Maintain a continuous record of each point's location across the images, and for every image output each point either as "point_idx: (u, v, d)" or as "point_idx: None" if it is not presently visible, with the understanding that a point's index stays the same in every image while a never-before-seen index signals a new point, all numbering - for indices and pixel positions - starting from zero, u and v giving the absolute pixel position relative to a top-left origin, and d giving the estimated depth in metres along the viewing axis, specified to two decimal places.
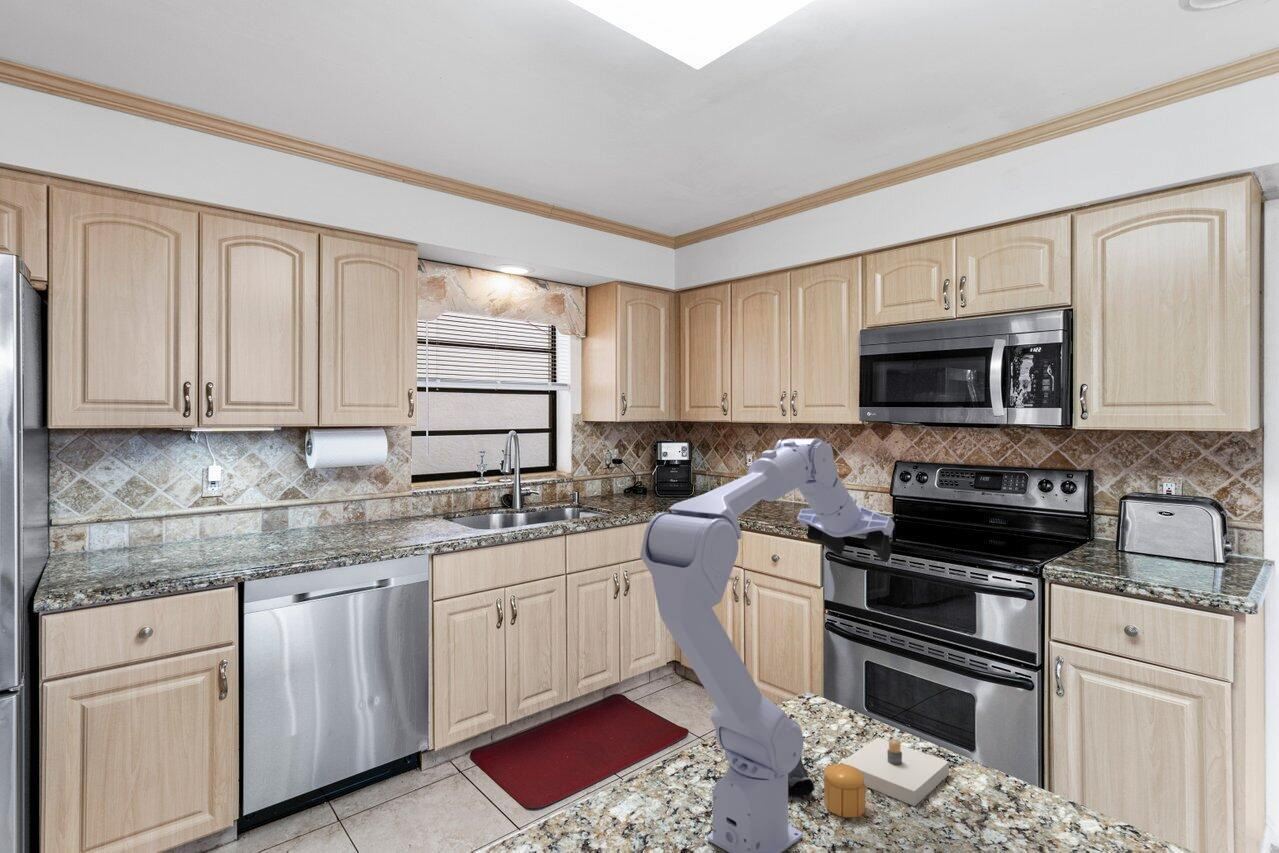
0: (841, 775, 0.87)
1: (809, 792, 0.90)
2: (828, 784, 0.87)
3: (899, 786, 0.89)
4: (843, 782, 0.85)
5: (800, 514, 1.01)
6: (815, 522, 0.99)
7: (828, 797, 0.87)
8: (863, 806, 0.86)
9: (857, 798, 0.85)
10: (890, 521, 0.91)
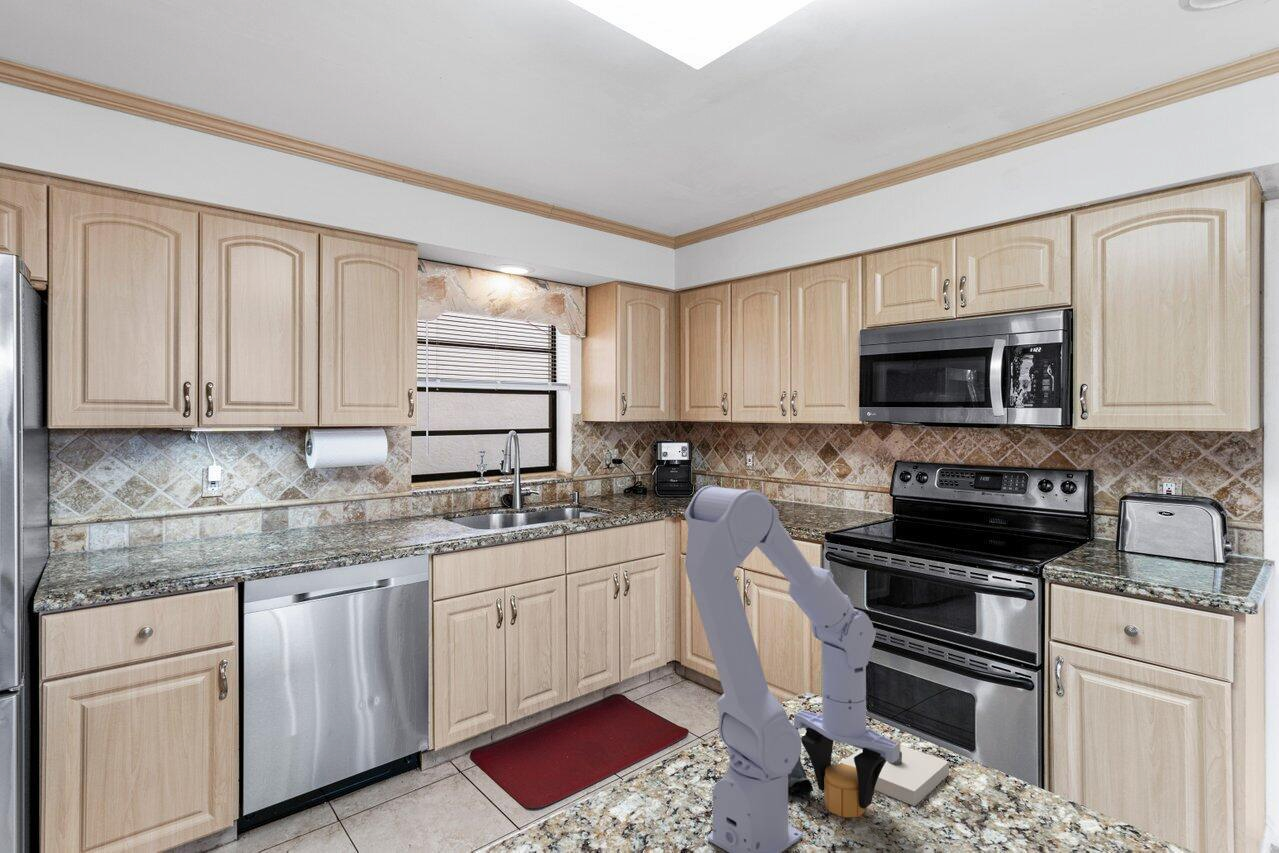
0: (841, 775, 0.87)
1: (807, 792, 0.90)
2: (828, 784, 0.87)
3: (899, 786, 0.89)
4: (843, 782, 0.85)
5: (799, 712, 0.93)
6: None
7: (828, 797, 0.87)
8: None
9: (857, 798, 0.85)
10: (897, 748, 0.83)
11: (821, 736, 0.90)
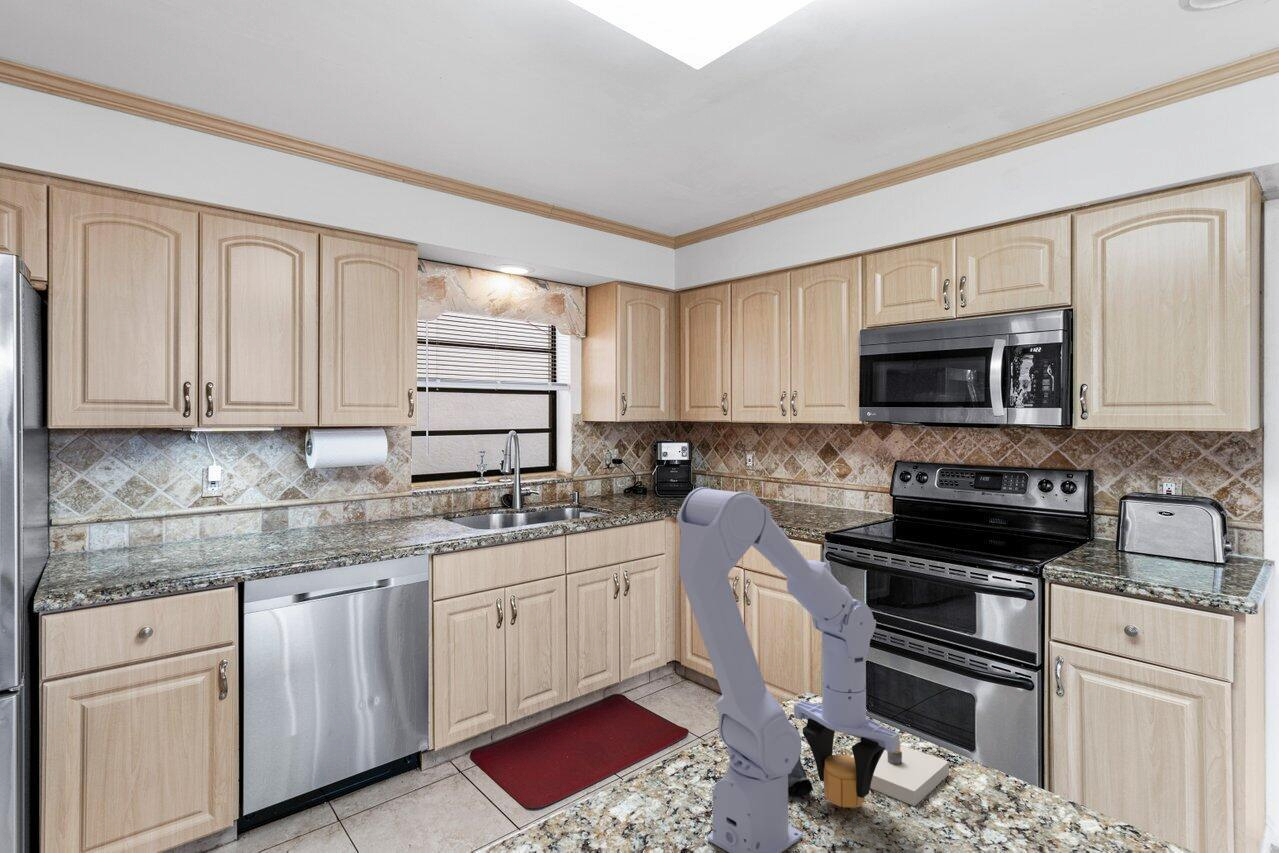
0: (840, 765, 0.87)
1: (807, 792, 0.90)
2: (828, 774, 0.87)
3: (899, 786, 0.89)
4: (843, 772, 0.85)
5: (799, 703, 0.93)
6: None
7: (827, 787, 0.87)
8: None
9: None
10: (897, 738, 0.83)
11: (822, 727, 0.89)
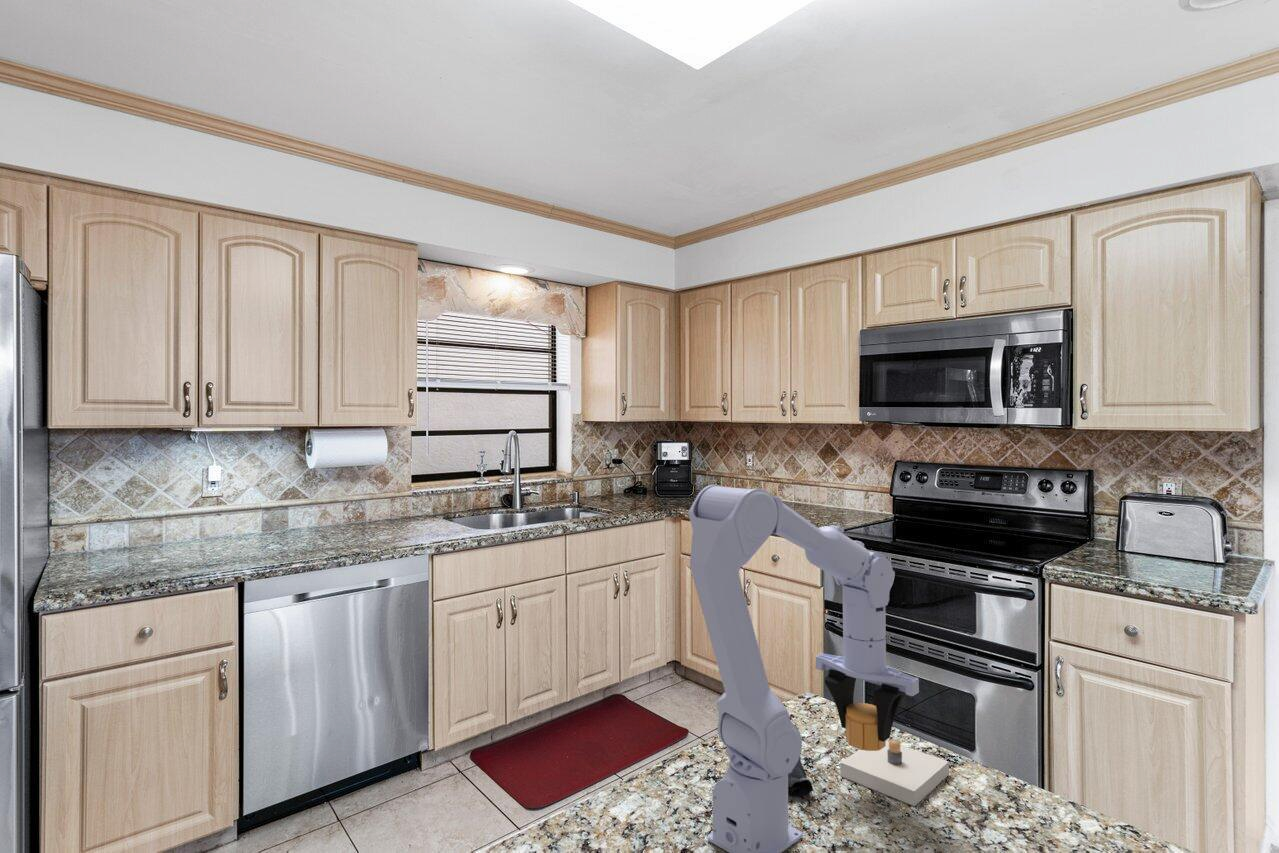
0: (862, 711, 0.90)
1: (807, 792, 0.90)
2: (850, 720, 0.90)
3: (899, 786, 0.89)
4: (864, 717, 0.89)
5: (820, 655, 0.96)
6: None
7: (850, 733, 0.90)
8: None
9: None
10: (917, 683, 0.86)
11: (844, 676, 0.93)
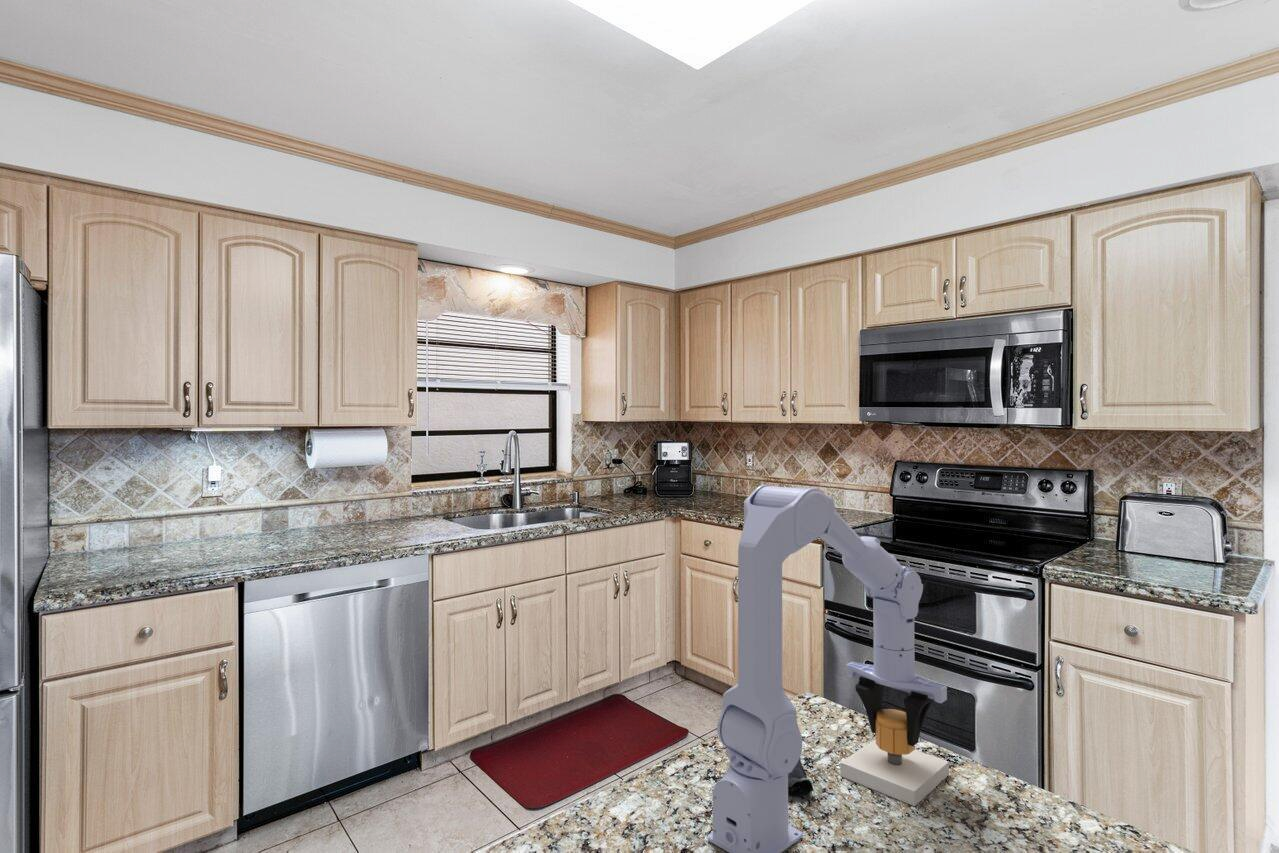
0: (891, 717, 0.95)
1: (808, 792, 0.90)
2: (880, 725, 0.95)
3: (899, 786, 0.89)
4: (894, 723, 0.94)
5: (850, 663, 1.01)
6: None
7: (880, 737, 0.95)
8: None
9: None
10: (945, 691, 0.91)
11: (873, 684, 0.98)
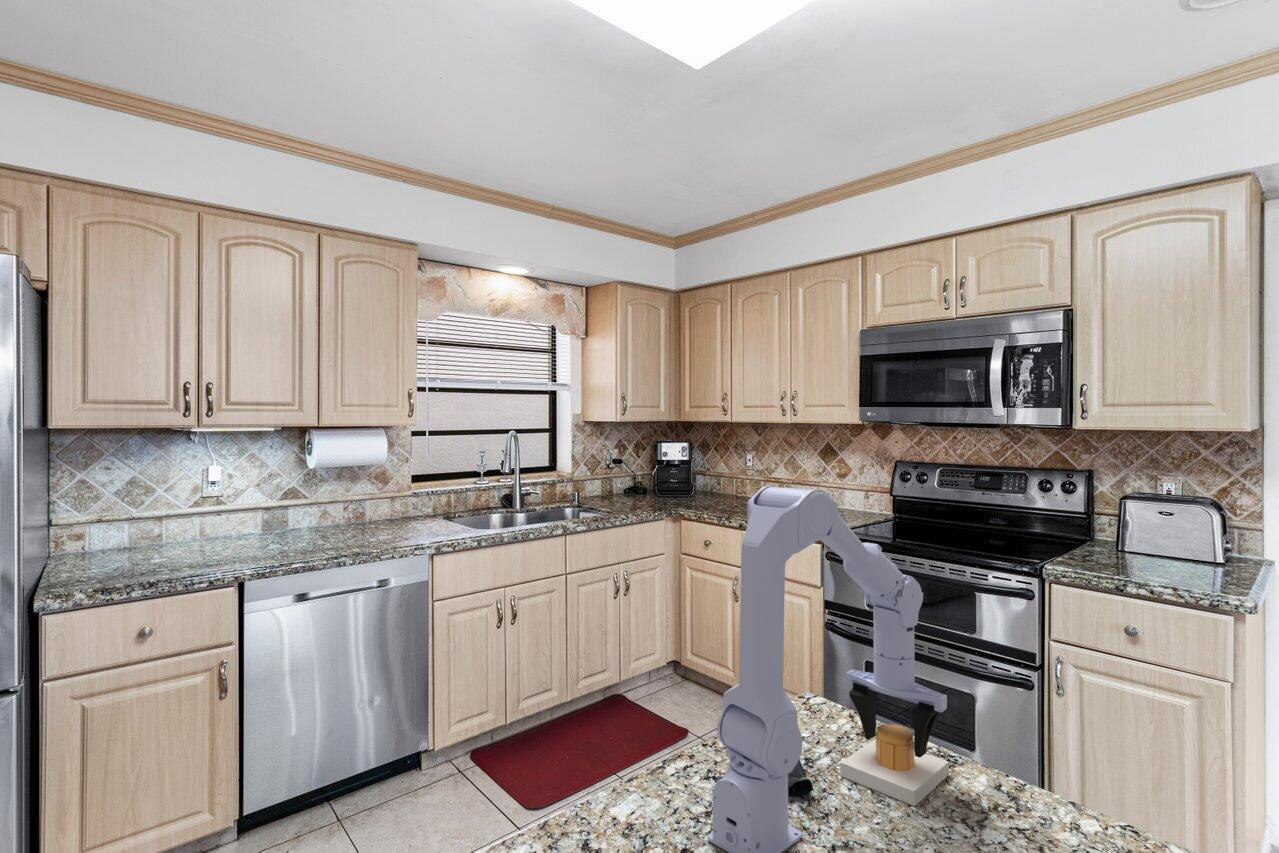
0: (892, 733, 0.95)
1: (808, 792, 0.90)
2: (880, 741, 0.95)
3: (899, 786, 0.89)
4: (895, 739, 0.94)
5: (850, 671, 1.01)
6: None
7: (880, 753, 0.95)
8: (913, 761, 0.94)
9: (908, 753, 0.93)
10: (945, 699, 0.91)
11: (867, 690, 0.98)
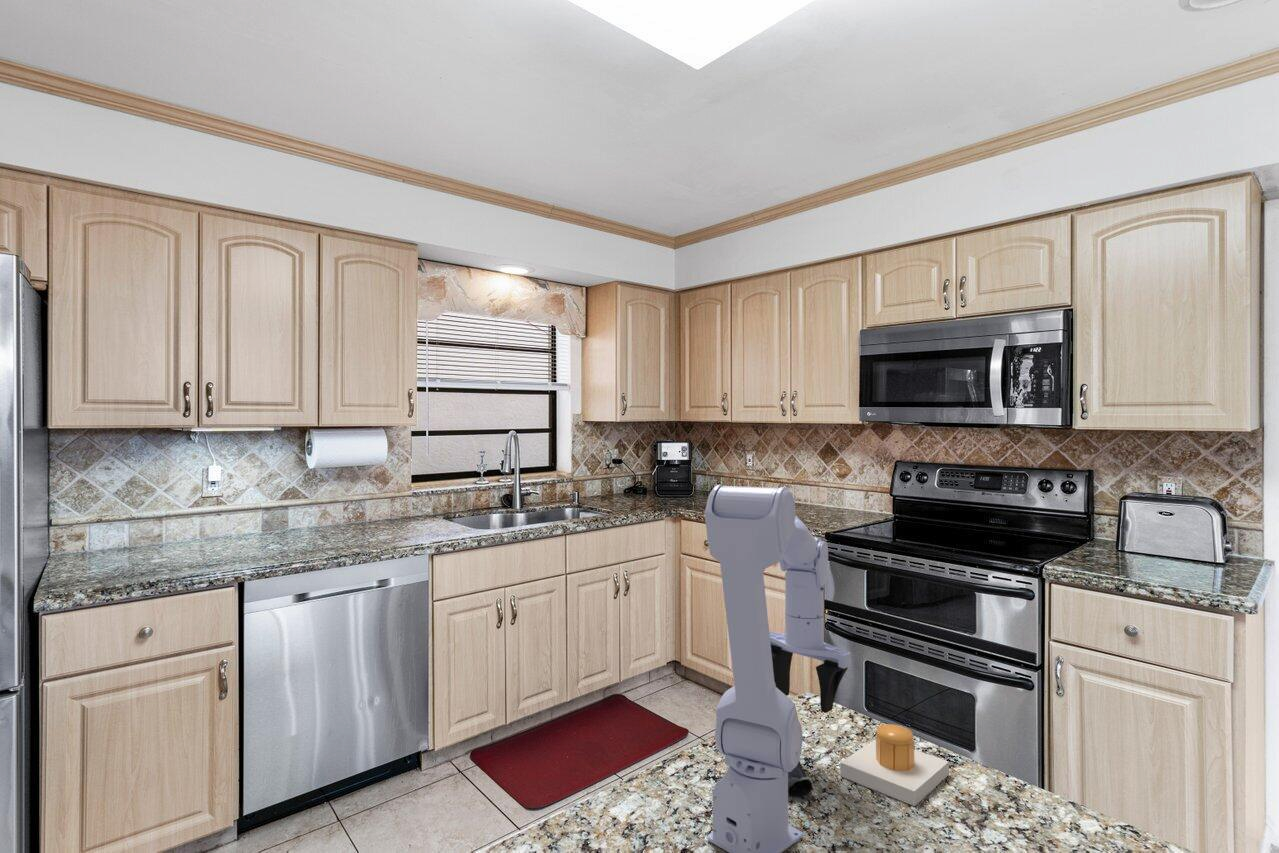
0: (892, 733, 0.95)
1: (807, 791, 0.90)
2: (880, 741, 0.95)
3: (899, 786, 0.89)
4: (895, 739, 0.94)
5: None
6: None
7: (880, 753, 0.95)
8: (913, 761, 0.94)
9: (908, 753, 0.93)
10: (849, 656, 0.94)
11: (780, 650, 1.02)
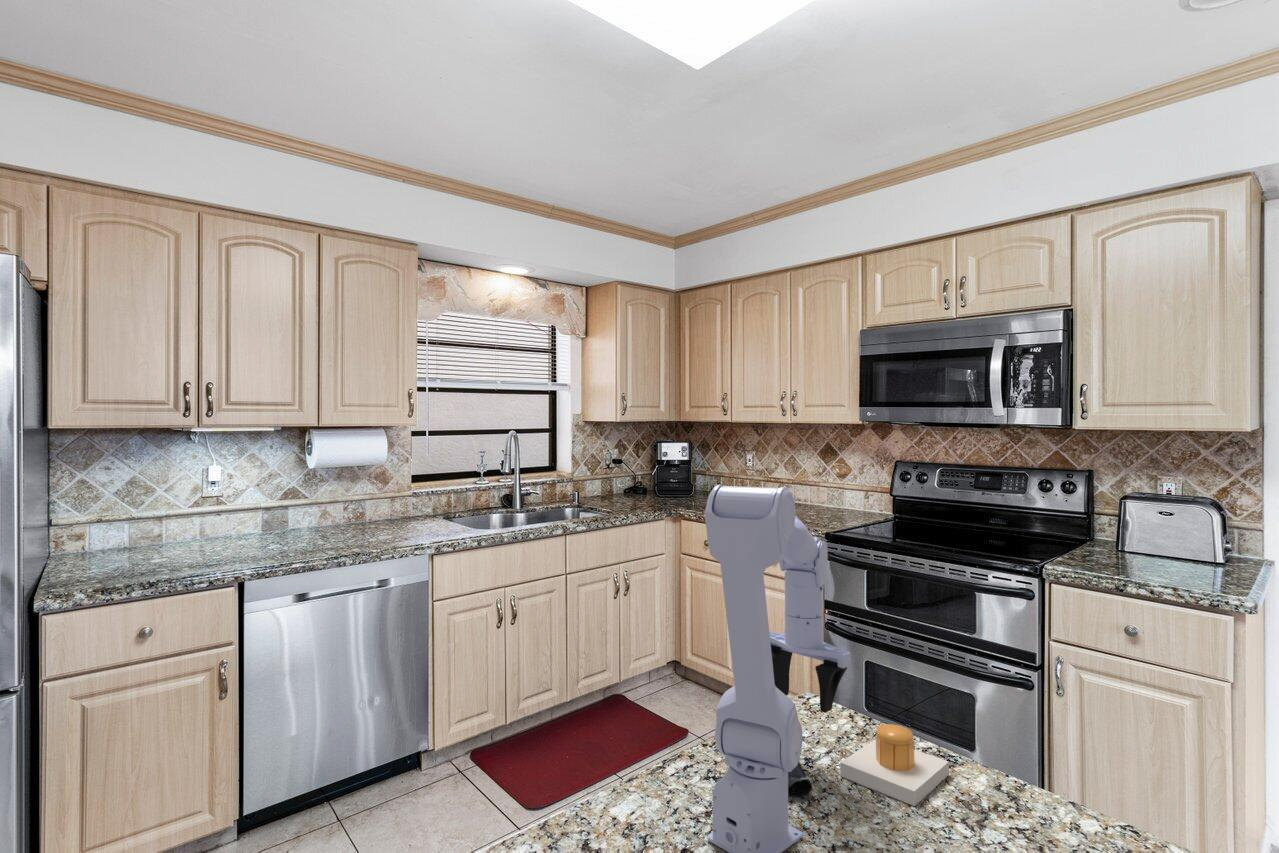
0: (892, 733, 0.95)
1: (807, 792, 0.90)
2: (880, 741, 0.95)
3: (899, 786, 0.89)
4: (895, 739, 0.94)
5: None
6: None
7: (880, 753, 0.95)
8: (913, 761, 0.94)
9: (908, 753, 0.93)
10: (848, 656, 0.94)
11: (780, 650, 1.02)
